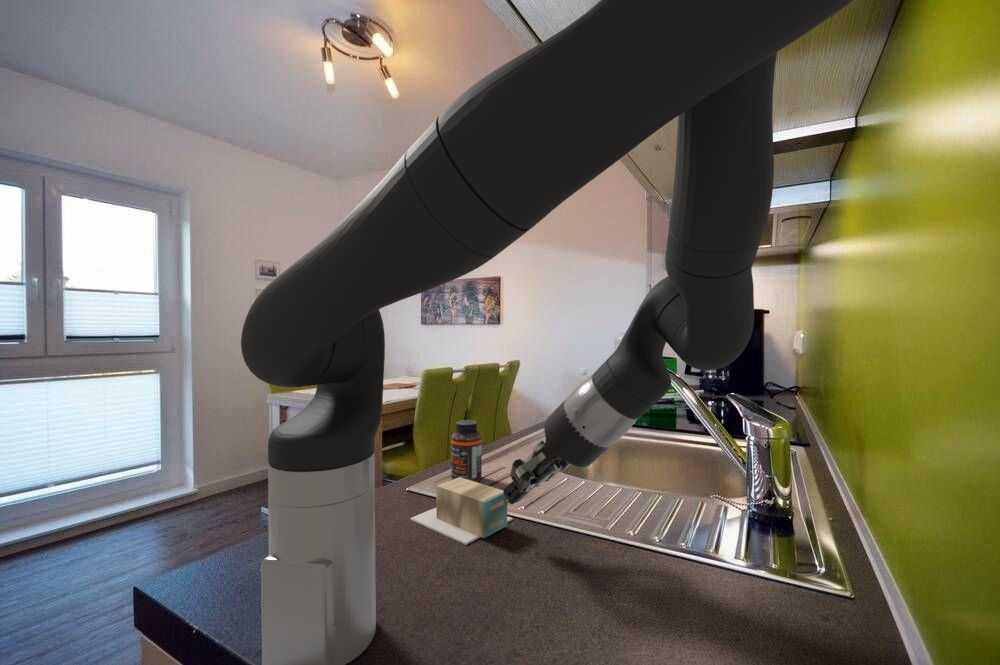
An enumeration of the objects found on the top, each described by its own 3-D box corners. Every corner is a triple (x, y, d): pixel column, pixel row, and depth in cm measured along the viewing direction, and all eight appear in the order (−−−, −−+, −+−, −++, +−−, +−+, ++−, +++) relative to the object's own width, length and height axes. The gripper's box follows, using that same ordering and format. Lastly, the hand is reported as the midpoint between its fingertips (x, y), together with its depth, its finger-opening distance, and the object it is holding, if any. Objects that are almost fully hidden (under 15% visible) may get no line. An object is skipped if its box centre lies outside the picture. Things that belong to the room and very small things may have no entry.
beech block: (507, 491, 63) (459, 477, 69) (484, 502, 59) (436, 485, 66) (507, 525, 63) (460, 508, 69) (484, 538, 59) (436, 518, 66)
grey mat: (512, 519, 66) (512, 517, 66) (466, 545, 58) (465, 542, 58) (457, 500, 73) (457, 498, 73) (410, 520, 66) (410, 518, 66)
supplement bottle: (444, 482, 82) (444, 423, 82) (461, 473, 87) (461, 417, 87) (471, 487, 79) (471, 426, 79) (487, 477, 85) (487, 420, 85)
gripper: (583, 457, 44) (493, 539, 52) (634, 435, 55) (552, 506, 62) (541, 400, 48) (462, 485, 56) (596, 389, 58) (523, 463, 66)
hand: (510, 496), depth 59 cm, fingers closed
